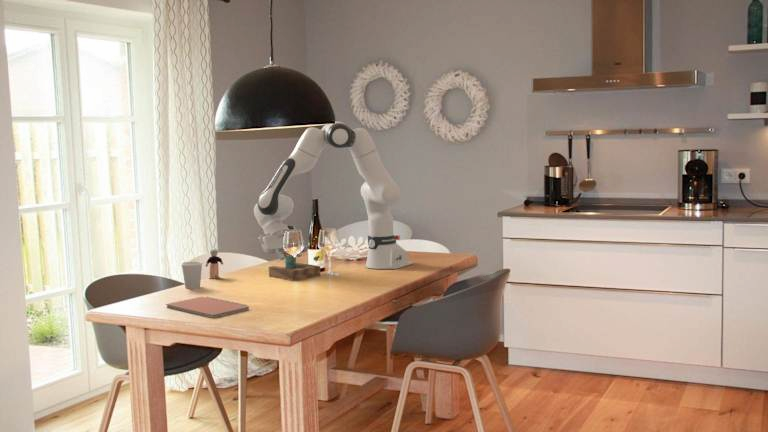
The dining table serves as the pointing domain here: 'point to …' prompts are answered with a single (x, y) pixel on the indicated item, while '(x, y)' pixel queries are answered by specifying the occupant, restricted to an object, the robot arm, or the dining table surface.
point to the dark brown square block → (295, 272)
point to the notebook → (208, 306)
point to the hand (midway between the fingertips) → (291, 257)
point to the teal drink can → (290, 261)
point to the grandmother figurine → (214, 264)
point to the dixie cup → (192, 274)
